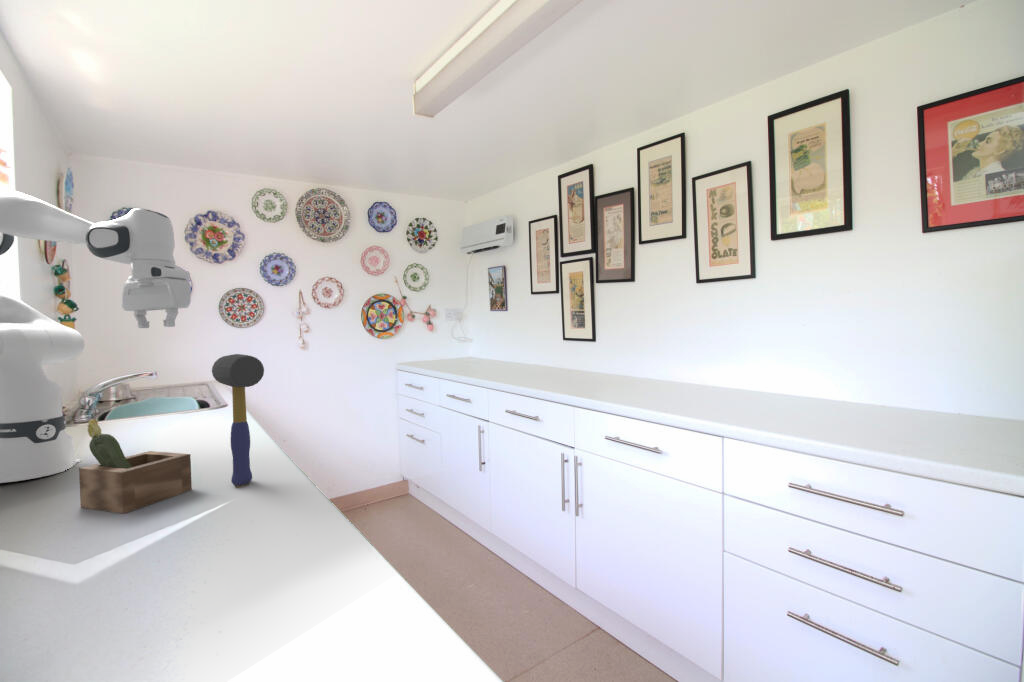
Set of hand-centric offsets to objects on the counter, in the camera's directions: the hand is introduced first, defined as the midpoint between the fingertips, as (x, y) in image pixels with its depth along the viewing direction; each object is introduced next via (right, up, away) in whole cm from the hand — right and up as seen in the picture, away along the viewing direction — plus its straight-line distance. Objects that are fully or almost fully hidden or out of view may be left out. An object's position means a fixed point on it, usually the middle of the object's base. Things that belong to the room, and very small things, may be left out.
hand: (156, 327), depth 110 cm
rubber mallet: (+30, -37, -13) cm, 49 cm away
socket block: (+12, -37, -19) cm, 43 cm away
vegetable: (+14, -37, -19) cm, 44 cm away
